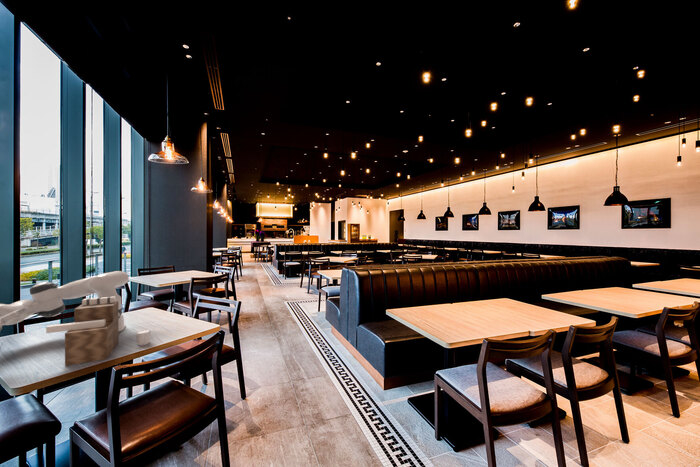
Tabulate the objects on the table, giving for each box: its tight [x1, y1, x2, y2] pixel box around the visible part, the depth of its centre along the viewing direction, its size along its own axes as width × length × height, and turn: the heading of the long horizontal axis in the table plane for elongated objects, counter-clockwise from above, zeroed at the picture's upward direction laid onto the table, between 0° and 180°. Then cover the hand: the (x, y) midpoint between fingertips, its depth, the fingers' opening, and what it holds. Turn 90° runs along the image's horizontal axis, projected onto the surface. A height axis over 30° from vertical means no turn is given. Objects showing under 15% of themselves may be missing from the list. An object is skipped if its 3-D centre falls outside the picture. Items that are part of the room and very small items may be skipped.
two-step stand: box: [64, 301, 120, 367], centre depth 153 cm, size 16×24×25 cm, turn 28°
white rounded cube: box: [135, 329, 151, 346], centre depth 167 cm, size 7×7×7 cm
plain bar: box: [45, 319, 106, 334], centre depth 146 cm, size 22×3×3 cm, turn 118°
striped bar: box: [81, 296, 116, 305], centre depth 161 cm, size 14×3×3 cm, turn 118°
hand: (22, 310), depth 138 cm, fingers open, 8 cm apart
